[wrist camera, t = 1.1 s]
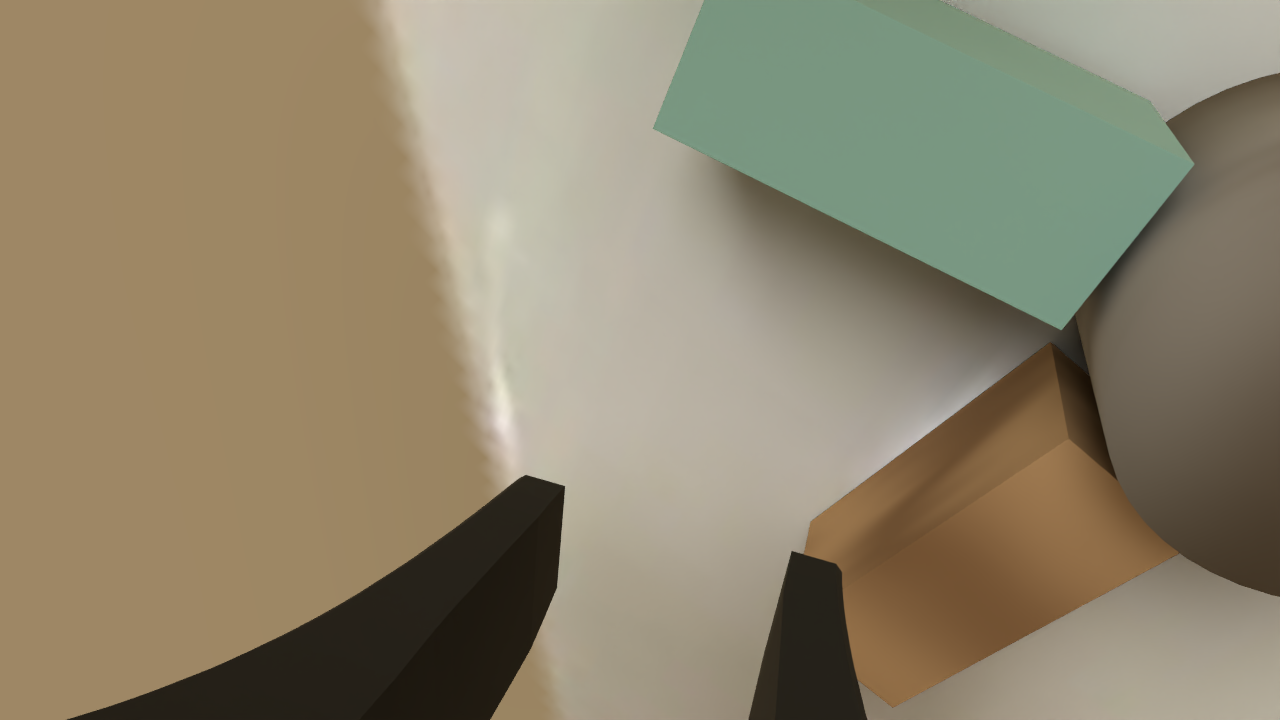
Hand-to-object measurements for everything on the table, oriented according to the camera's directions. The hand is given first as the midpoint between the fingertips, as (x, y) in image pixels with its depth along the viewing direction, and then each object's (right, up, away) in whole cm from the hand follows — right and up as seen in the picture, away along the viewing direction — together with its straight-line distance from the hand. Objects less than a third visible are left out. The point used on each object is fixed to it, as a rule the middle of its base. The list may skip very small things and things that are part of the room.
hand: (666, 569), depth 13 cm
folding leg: (+5, +8, +4) cm, 10 cm away
